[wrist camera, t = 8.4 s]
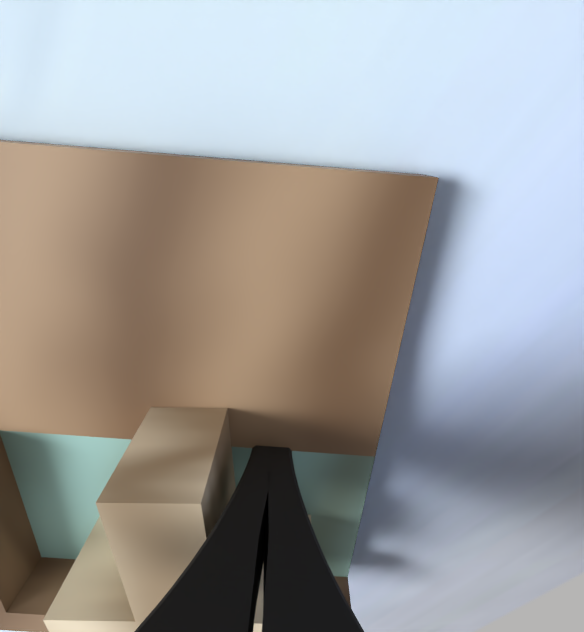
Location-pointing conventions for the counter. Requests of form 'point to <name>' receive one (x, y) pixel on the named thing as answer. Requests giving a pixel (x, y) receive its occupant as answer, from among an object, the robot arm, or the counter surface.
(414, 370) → the counter surface
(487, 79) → the counter surface
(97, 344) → the board
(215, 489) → the t block
